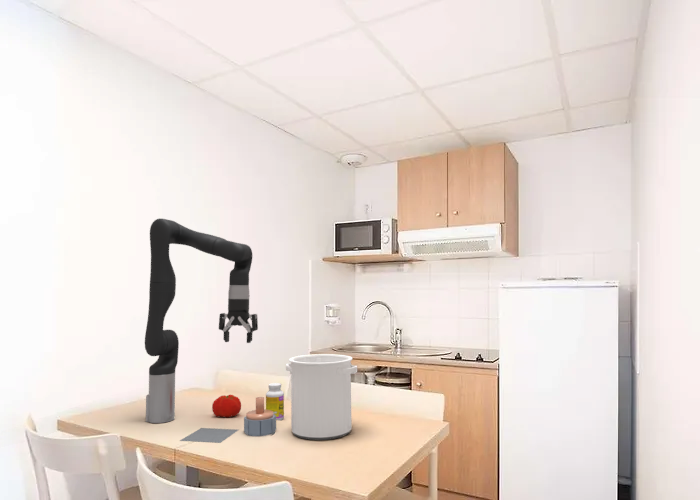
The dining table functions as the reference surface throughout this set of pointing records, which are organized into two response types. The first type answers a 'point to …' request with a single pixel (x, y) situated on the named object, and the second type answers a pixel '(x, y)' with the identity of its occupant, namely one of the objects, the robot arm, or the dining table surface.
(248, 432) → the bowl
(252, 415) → the lid
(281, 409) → the supplement bottle
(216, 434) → the mat
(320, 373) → the bucket
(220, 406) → the tomato
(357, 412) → the dining table surface
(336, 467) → the dining table surface
